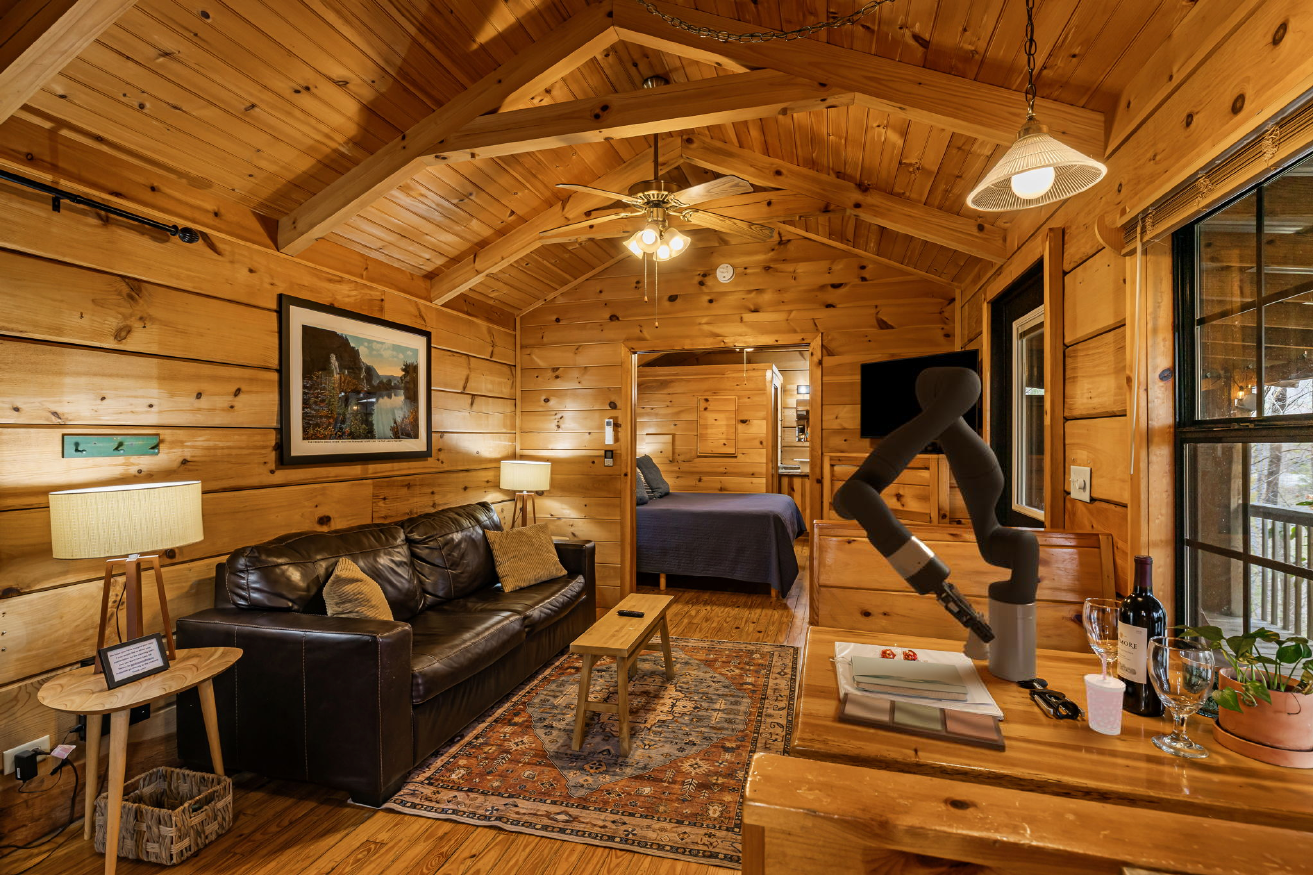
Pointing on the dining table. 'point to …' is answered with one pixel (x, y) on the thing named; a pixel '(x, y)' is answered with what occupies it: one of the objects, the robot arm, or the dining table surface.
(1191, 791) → the dining table surface
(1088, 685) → the beverage cup
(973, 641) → the rook chess piece
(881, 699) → the tile board
